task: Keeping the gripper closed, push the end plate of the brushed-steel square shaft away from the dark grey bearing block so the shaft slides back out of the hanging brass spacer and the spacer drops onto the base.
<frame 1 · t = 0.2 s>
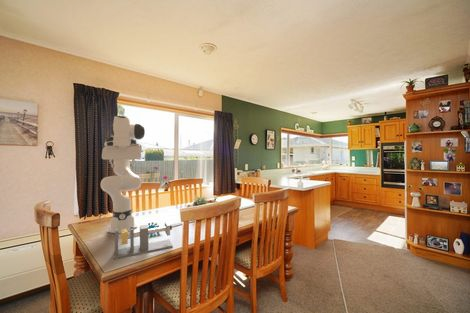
hand: (122, 167, 123), 47 cm above the table, fingers open, 8 cm apart
shaft: (146, 231, 121), point 10 cm above the table, slide at 0.0 cm, touching spacer
spacer: (124, 242, 116), point 6 cm above the table, touching shaft
bearing base: (144, 249, 121), on the table
gear: (152, 235, 142), on the table
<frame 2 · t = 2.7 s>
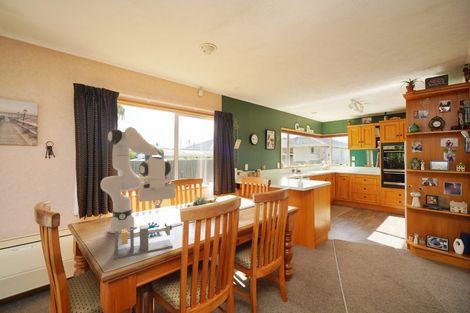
hand: (157, 207, 121), 24 cm above the table, fingers closed
nothing on the table moved.
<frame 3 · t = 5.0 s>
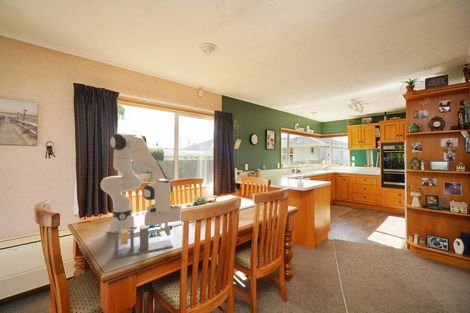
hand: (163, 230, 123), 10 cm above the table, fingers closed
shaft: (146, 231, 121), point 10 cm above the table, slide at 0.0 cm, touching gripper, spacer
everything else where it was.
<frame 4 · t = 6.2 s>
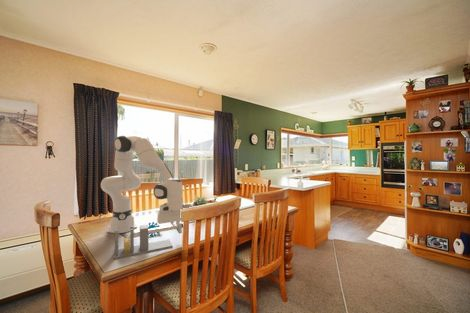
hand: (175, 228, 126), 10 cm above the table, fingers closed
shaft: (159, 229, 125), point 10 cm above the table, slide at 6.8 cm, touching gripper
spacer: (127, 251, 117), point 1 cm above the table, touching bearing base
everything else where it was.
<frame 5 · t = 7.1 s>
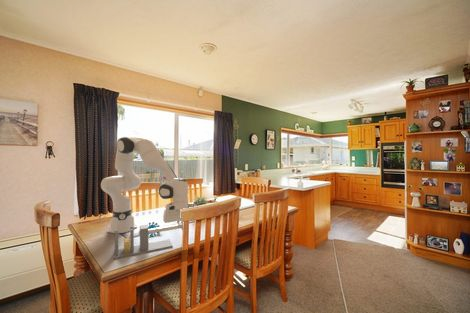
hand: (180, 227, 127), 10 cm above the table, fingers closed
shaft: (164, 228, 126), point 10 cm above the table, slide at 10.0 cm, touching gripper
everything else where it was.
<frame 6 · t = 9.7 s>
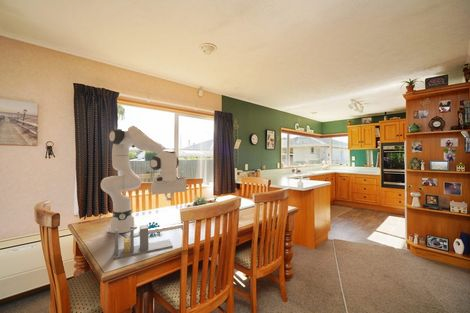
hand: (169, 200, 126), 27 cm above the table, fingers closed
shaft: (164, 228, 126), point 10 cm above the table, slide at 10.0 cm
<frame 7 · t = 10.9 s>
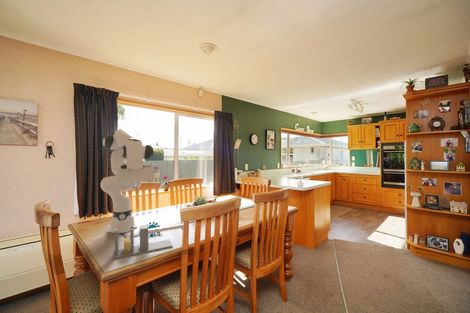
hand: (135, 188, 125), 34 cm above the table, fingers closed
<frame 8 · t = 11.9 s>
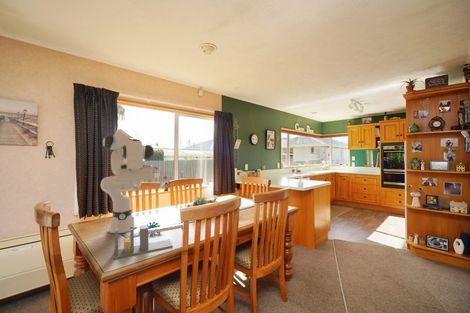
hand: (135, 188, 125), 34 cm above the table, fingers closed
at the end: shaft slide at 10.0 cm; spacer point 1.0 cm above the table; spacer touching bearing base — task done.
